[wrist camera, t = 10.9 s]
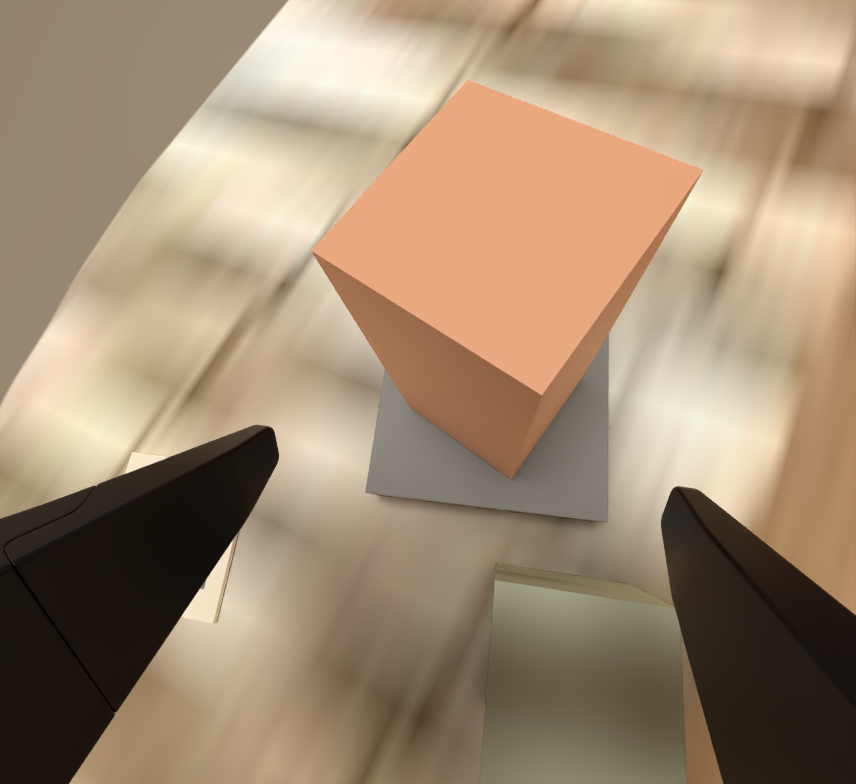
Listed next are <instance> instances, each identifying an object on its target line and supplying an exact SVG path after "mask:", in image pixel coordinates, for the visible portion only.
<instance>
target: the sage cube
mask: <svg viewBox="0 0 856 784" xmlns="http://www.w3.org/2000/svg"><path fill="white" fill-rule="evenodd" d="M480 784H686V760H685V732H684V705H683V677H682V650H681V629H680V625H679V622H678V618H677V615H676V611H675V607H674V606H672V605H670V604H668V603H666V602H664V601H662V600H660V599H658V598H656V597H654V596H652V595H650V594H648V593H646V592H644V591H642V590H640V589H638V588H636V587H634V586H632V585H630V584H628V583H623V582H617V581H610V580H603V579H597V578H590V577H584V576H577V575H570V574H564V573H557V572H550V571H544V570H537V569H531V568H524V567H517V566H511V565H504V564H498V563H496V568H495V582H494V595H493V608H492V621H491V635H490V648H489V661H488V674H487V687H486V701H485V715H484V729H483V743H482V757H481V771H480Z"/></svg>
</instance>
